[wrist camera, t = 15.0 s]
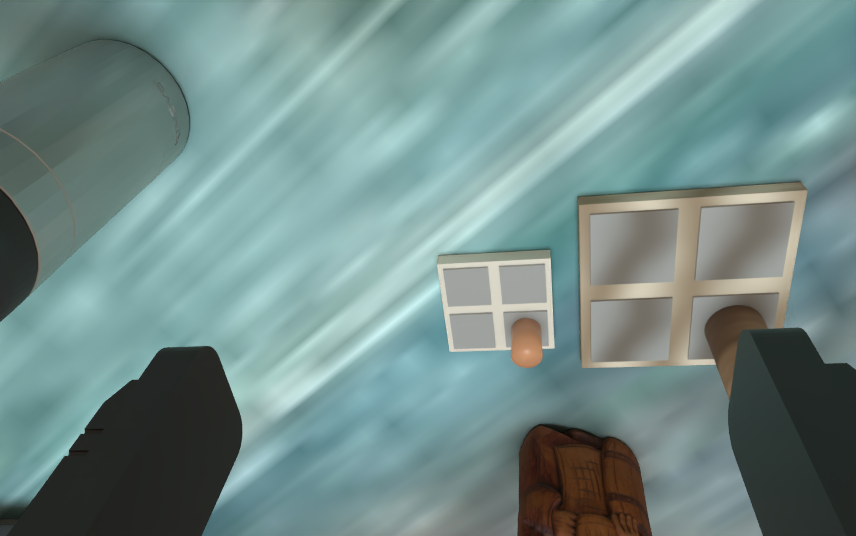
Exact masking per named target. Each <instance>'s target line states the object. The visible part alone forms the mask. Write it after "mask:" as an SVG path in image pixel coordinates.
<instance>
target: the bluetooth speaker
mask: <svg viewBox="0 0 856 536" xmlns="http://www.w3.org/2000/svg"><path fill="white" fill-rule="evenodd" d="M17 521H18V519H0V536H7V534H8V533H9V532H10V530H11V529H12V528H13V526H14V525H15V523H16V522H17Z"/></svg>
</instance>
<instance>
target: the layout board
mask: <svg viewBox="0 0 856 536" xmlns="http://www.w3.org/2000/svg"><path fill="white" fill-rule="evenodd" d="M807 191H808V190H807V189H806V188H805V186H804V185H803V184H802V183H801V182H794V183H779V184H764V185H749V186H734V187H719V188H705V189H690V190H675V191H660V192H645V193H630V194H615V195H600V196H586V197H578V241H579V297H580V353H581V366H582V368H601V367H640V366H678V365H716V363H715V360H714V358H713V355H712V352H711V350H710V347H709V345H708V342H707V339H706V337H705V333H704V329H705V325H706V323H707V321H708V319H709V318H710V317H711V316H712V315H713V314H714V313H715V312H717V311H718V310H720V309H722V308H725V307H728V306H734V305H743V306H748V307H751V308H753V309H755V310H757V311H758V312H759V313H760V314H761V315H762V317H763V319H764V321H765V323H766V325H767V327H768V329H772V328H783V326H784V320H785V315H786V309H787V304H788V298H789V292H790V287H791V281H792V275H793V270H794V264H795V259H796V253H797V247H798V242H799V236H800V230H801V225H802V219H803V213H804V208H805V202H806V197H807Z"/></svg>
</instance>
